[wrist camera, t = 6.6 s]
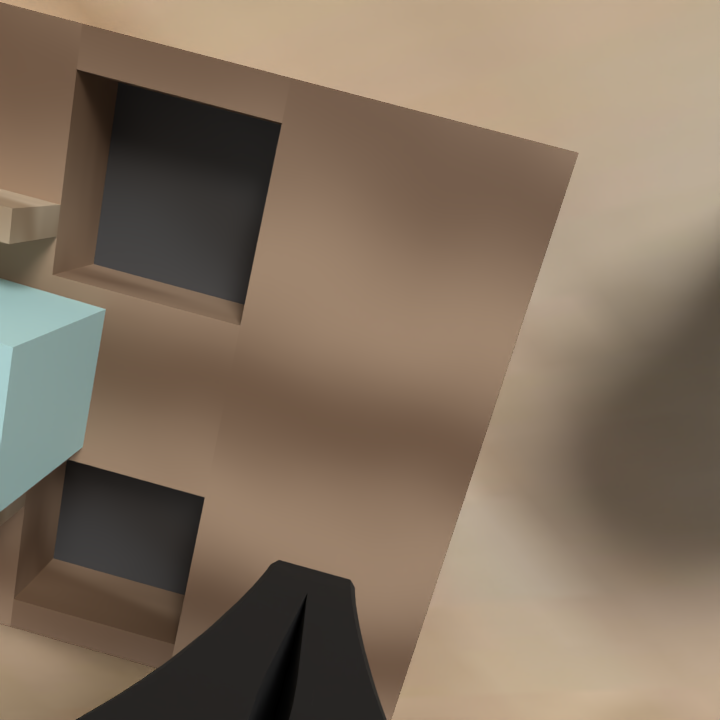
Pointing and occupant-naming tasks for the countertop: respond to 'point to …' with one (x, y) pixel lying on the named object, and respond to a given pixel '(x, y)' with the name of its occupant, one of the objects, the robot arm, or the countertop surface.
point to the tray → (254, 333)
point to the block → (43, 382)
